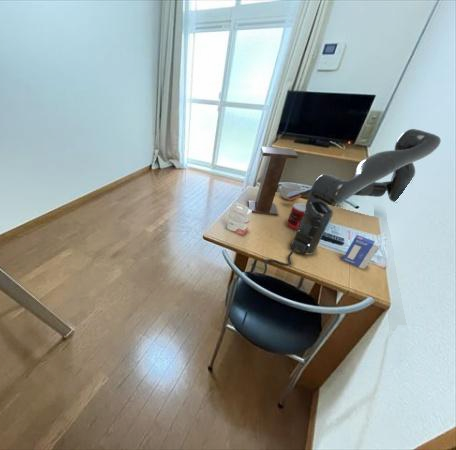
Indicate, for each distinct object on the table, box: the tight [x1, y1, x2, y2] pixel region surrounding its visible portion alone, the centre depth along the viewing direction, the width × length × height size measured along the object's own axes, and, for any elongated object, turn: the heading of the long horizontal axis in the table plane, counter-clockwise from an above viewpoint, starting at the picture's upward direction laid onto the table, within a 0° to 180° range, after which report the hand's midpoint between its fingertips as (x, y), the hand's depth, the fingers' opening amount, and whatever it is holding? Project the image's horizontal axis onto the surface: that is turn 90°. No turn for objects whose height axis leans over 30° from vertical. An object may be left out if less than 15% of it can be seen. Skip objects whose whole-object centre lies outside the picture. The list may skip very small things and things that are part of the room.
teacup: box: [279, 181, 308, 201], centre depth 144 cm, size 14×11×8 cm
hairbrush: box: [287, 186, 312, 202], centre depth 128 cm, size 22×5×2 cm
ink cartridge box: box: [226, 201, 252, 236], centre depth 115 cm, size 9×5×15 cm, turn 47°
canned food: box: [286, 202, 306, 231], centre depth 119 cm, size 8×8×11 cm
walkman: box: [341, 234, 382, 270], centre depth 97 cm, size 8×3×12 cm, turn 45°
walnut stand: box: [247, 146, 299, 217], centre depth 127 cm, size 15×12×32 cm
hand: (320, 184), depth 126 cm, fingers closed on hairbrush, 2 cm apart
